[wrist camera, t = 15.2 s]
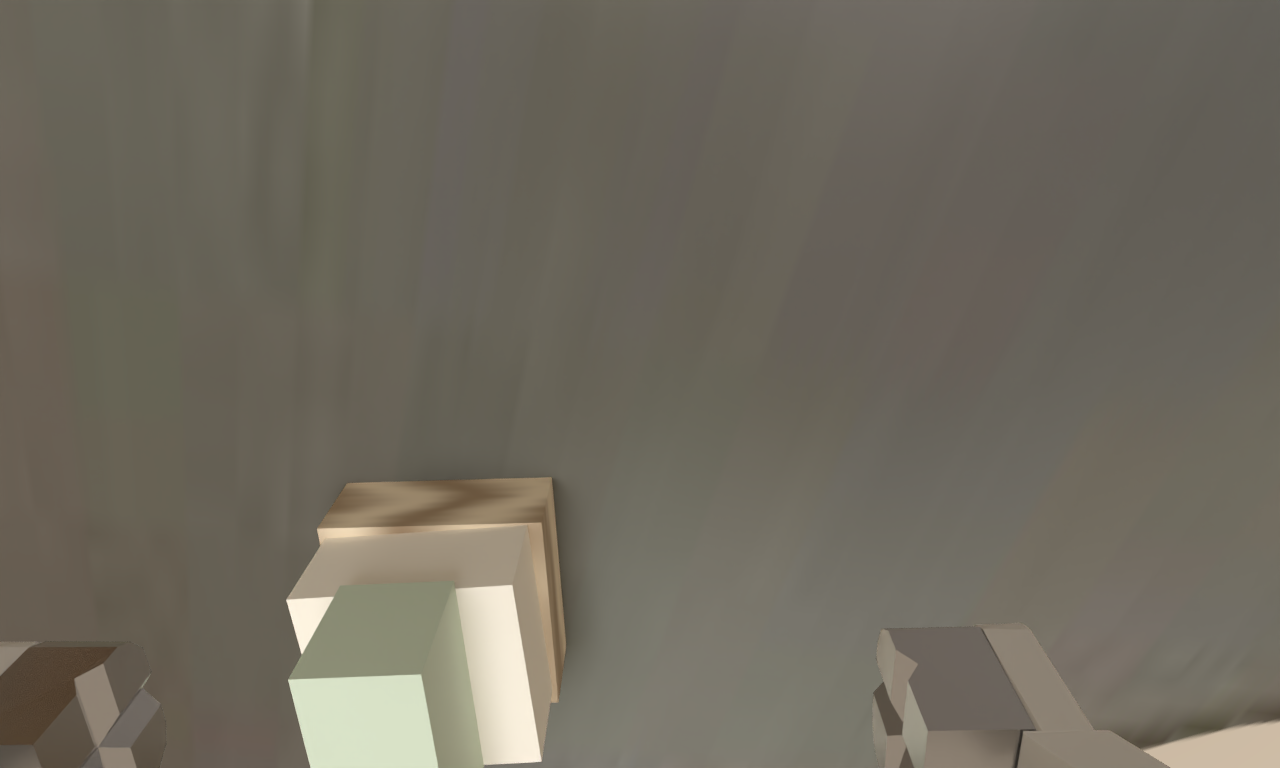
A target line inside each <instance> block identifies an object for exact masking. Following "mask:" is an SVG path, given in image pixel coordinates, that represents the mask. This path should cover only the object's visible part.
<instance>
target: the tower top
mask: <svg viewBox="0 0 1280 768" xmlns="http://www.w3.org/2000/svg"><path fill="white" fill-rule="evenodd" d="M436 581H454V583H455V590H456V596H457V602H458V608H459V614H460V621H461V627H462V633H463V639H464V645H465V652H466V658H467V664H468V670H469V676H470V683H471V689H472V695H473V701H474V707H475V714H476V720H477V726H478V732H479V739H480V745H481V751H482V757H483V763H484V765H491V764H508V763H526V762H542V756H543V749H544V742H545V736H546V729H547V722H548V716H549V709H550V702H551V696H552V689H553V688H552V682H551V675H550V669H549V662H548V656H547V649H546V643H545V637H544V630H543V624H542V617H541V611H540V604H539V598H538V591H537V585H536V578H535V572H534V565H533V559H532V552H531V546H530V539H529V533H528V526H527V525H517V526H503V527H488V528H473V529H459V530H444V531H429V532H414V533H400V534H385V535H370V536H356V537H341V538H326V539H325V540H324V541H323V543H322V544H321V546H320V548H319V549H318V551H317V552H316V554H315V555H314V557H313V559H312V560H311V562H310V563H309V565H308V566H307V568H306V570H305V571H304V573H303V574H302V576H301V578H300V579H299V581H298V582H297V584H296V585H295V587H294V589H293V590H292V592H291V593H290V595H289V596H288V598H287V604H288V607H289V611H290V614H291V618H292V621H293V625H294V628H295V632H296V636H297V639H298V643H299V646H300V650H301V653H302V654H303V652H304V650H305V648H306V646H307V645H308V643H309V641H310V639H311V637H312V636H313V634H314V632H315V630H316V628H317V627H318V625H319V623H320V621H321V619H322V618H323V616H324V614H325V612H326V610H327V608H328V607H329V605H330V603H331V601H332V599H333V598H334V596H335V594H336V592H337V590H338V589H339V587H340V586H342V585H366V584H389V583H413V582H436Z"/></svg>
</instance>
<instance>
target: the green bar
mask: <svg viewBox="0 0 1280 768" xmlns="http://www.w3.org/2000/svg"><path fill="white" fill-rule="evenodd" d="M288 681H289V685H290V689H291V693H292V697H293V701H294V704H295V708H296V712H297V716H298V720H299V724H300V728H301V732H302V736H303V740H304V744H305V748H306V751H307V755H308V759H309V763H310V767H311V768H484V763H483V757H482V751H481V745H480V739H479V732H478V726H477V720H476V714H475V707H474V701H473V695H472V689H471V683H470V676H469V670H468V664H467V658H466V652H465V645H464V639H463V633H462V627H461V621H460V614H459V608H458V602H457V596H456V590H455V583H454V581H436V582H413V583H389V584H366V585H342V586H340V587H339V589H338V590H337V592H336V594H335V596H334V598H333V599H332V601H331V603H330V605H329V607H328V608H327V610H326V612H325V614H324V616H323V618H322V619H321V621H320V623H319V625H318V627H317V628H316V630H315V632H314V634H313V636H312V637H311V639H310V641H309V643H308V645H307V646H306V648H305V650H304V652H303V654H302V656H301V657H300V659H299V661H298V663H297V665H296V666H295V668H294V670H293V672H292V674H291V675H290V677H289V679H288Z"/></svg>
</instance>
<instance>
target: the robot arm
mask: <svg viewBox="0 0 1280 768" xmlns="http://www.w3.org/2000/svg"><path fill="white" fill-rule="evenodd" d="M876 660H877V663H878V666H879V669H880V672H881V675H882V678H883V681H884V682H883V683H882V684H881V685H880V686H879V687H878V688H877V689H876V690H875V691H874V692H873V710H872V724H873V739H874V747H875V752H876V757H877V762H878V766H879V768H1170V767H1169V766H1167V765H1165V764H1164V763H1162V762H1160V761H1159V760H1157V759H1155V758H1154V757H1152V756H1150V755H1149V754H1147V753H1146V752H1144V751H1142V750H1141V749H1139V748H1138V747H1136V746H1134V745H1133V744H1131V743H1129V742H1128V741H1126V740H1124V739H1123V738H1121V737H1120V736H1118V735H1116V734H1115V733H1113V732H1111V731H1110V730H1094V729H1093V727H1092V725H1091V724H1090V722H1089V721H1088V719H1087V718H1086V716H1085V714H1084V713H1083V711H1082V710H1081V708H1080V707H1079V705H1078V703H1077V702H1076V700H1075V699H1074V697H1073V696H1072V694H1071V692H1070V691H1069V689H1068V688H1067V686H1066V685H1065V683H1064V681H1063V680H1062V678H1061V677H1060V675H1059V674H1058V672H1057V670H1056V669H1055V667H1054V666H1053V664H1052V663H1051V661H1050V659H1049V658H1048V656H1047V655H1046V653H1045V652H1044V650H1043V649H1042V647H1041V645H1040V644H1039V642H1038V641H1037V639H1036V638H1035V636H1034V634H1033V633H1032V631H1031V630H1030V628H1029V627H1027V626H1025V625H1024V624H1022V623H1004V624H982V625H974V627H928V628H884V629H881V632H880V635H879V638H878V645H877V656H876ZM150 674H151V669H150V666H149V663H148V660H147V658H146V655H145V652H144V649H143V647H141V646H138V645H136V644H134V643H132V642H89V641H45V642H0V768H160V765H161V761H162V758H163V754H164V751H165V747H166V720H165V717H164V713H163V709H162V706H161V704H160V703H159V702H158V701H157V700H156V699H154V698H153V697H152V696H151V695H150V694H149V693H147V692H146V691H145V690H144V689H143V687H144V685H145V683H146V681H147V679H148V678H149V676H150Z"/></svg>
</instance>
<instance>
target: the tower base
mask: <svg viewBox="0 0 1280 768" xmlns="http://www.w3.org/2000/svg"><path fill="white" fill-rule="evenodd" d="M517 525H527V526H528V533H529V539H530V546H531V552H532V559H533V565H534V572H535V578H536V585H537V591H538V598H539V604H540V611H541V617H542V624H543V630H544V637H545V643H546V649H547V656H548V662H549V669H550V675H551V682H552V688H553V689H552V696H551V702H559V695H560V687H561V680H562V673H563V666H564V659H565V651H566V636H565V625H564V613H563V602H562V590H561V578H560V567H559V555H558V544H557V532H556V520H555V509H554V497H553V486H552V477H543V478H508V479H473V480H438V481H403V482H368V483H347V484H346V486H345V487H344V489H343V490H342V492H341V493H340V495H339V496H338V498H337V499H336V501H335V502H334V504H333V505H332V507H331V508H330V510H329V511H328V513H327V514H326V516H325V518H324V519H323V521H322V522H321V524H320V525H319V527H318V528H317V531H318V536H319V541H320V545H321V544H322V543H323V541H324V540H325V539H326V538H341V537H356V536H370V535H385V534H400V533H414V532H429V531H444V530H459V529H473V528H488V527H503V526H517Z"/></svg>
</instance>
